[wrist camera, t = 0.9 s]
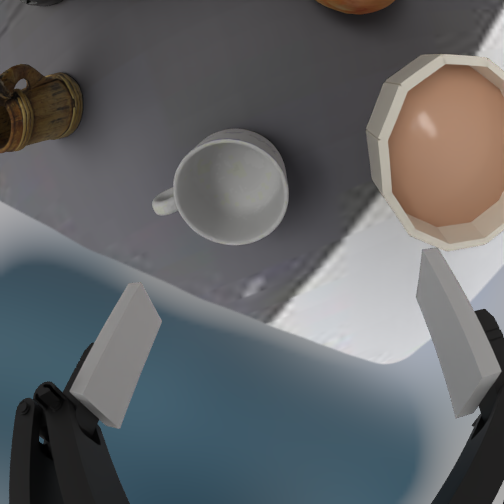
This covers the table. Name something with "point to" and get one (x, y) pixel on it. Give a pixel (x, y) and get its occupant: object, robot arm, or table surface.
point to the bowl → (442, 149)
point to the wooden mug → (37, 107)
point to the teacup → (229, 188)
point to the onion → (356, 5)
